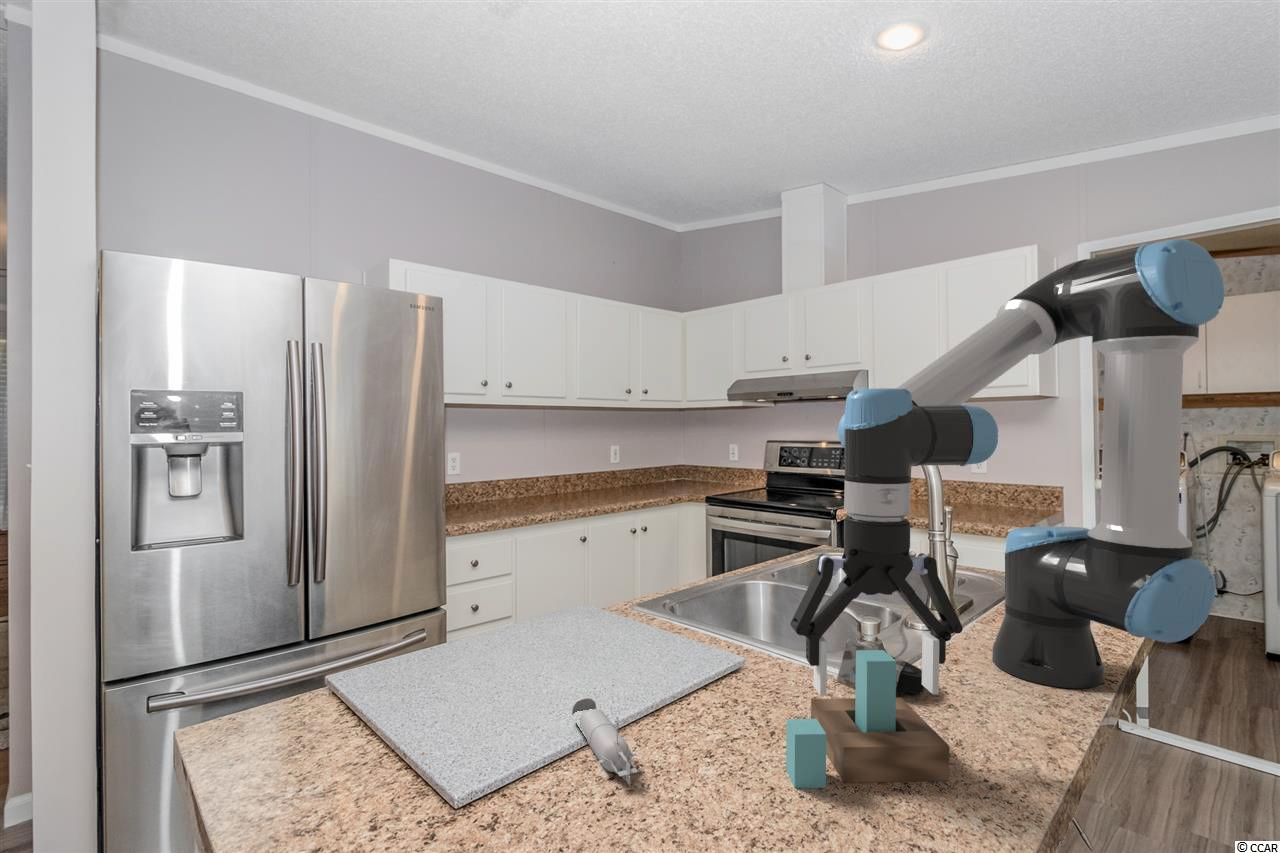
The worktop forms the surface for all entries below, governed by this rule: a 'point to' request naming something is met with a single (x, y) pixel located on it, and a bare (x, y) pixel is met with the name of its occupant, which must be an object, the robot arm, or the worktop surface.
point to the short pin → (806, 753)
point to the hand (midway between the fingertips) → (875, 690)
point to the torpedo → (605, 739)
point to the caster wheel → (905, 672)
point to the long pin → (875, 691)
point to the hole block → (881, 745)
